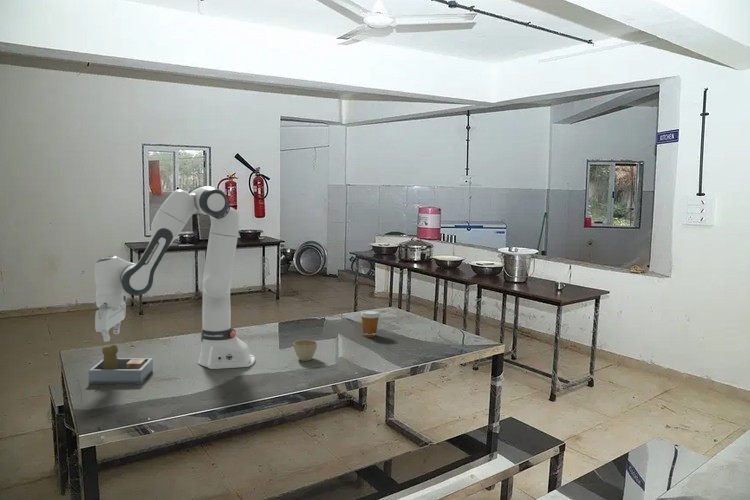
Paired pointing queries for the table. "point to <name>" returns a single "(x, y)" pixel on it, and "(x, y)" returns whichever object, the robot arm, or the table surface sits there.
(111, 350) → the cork
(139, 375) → the tote
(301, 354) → the flower pot
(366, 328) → the disposable coffee cup
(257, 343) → the table surface
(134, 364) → the tan cube
